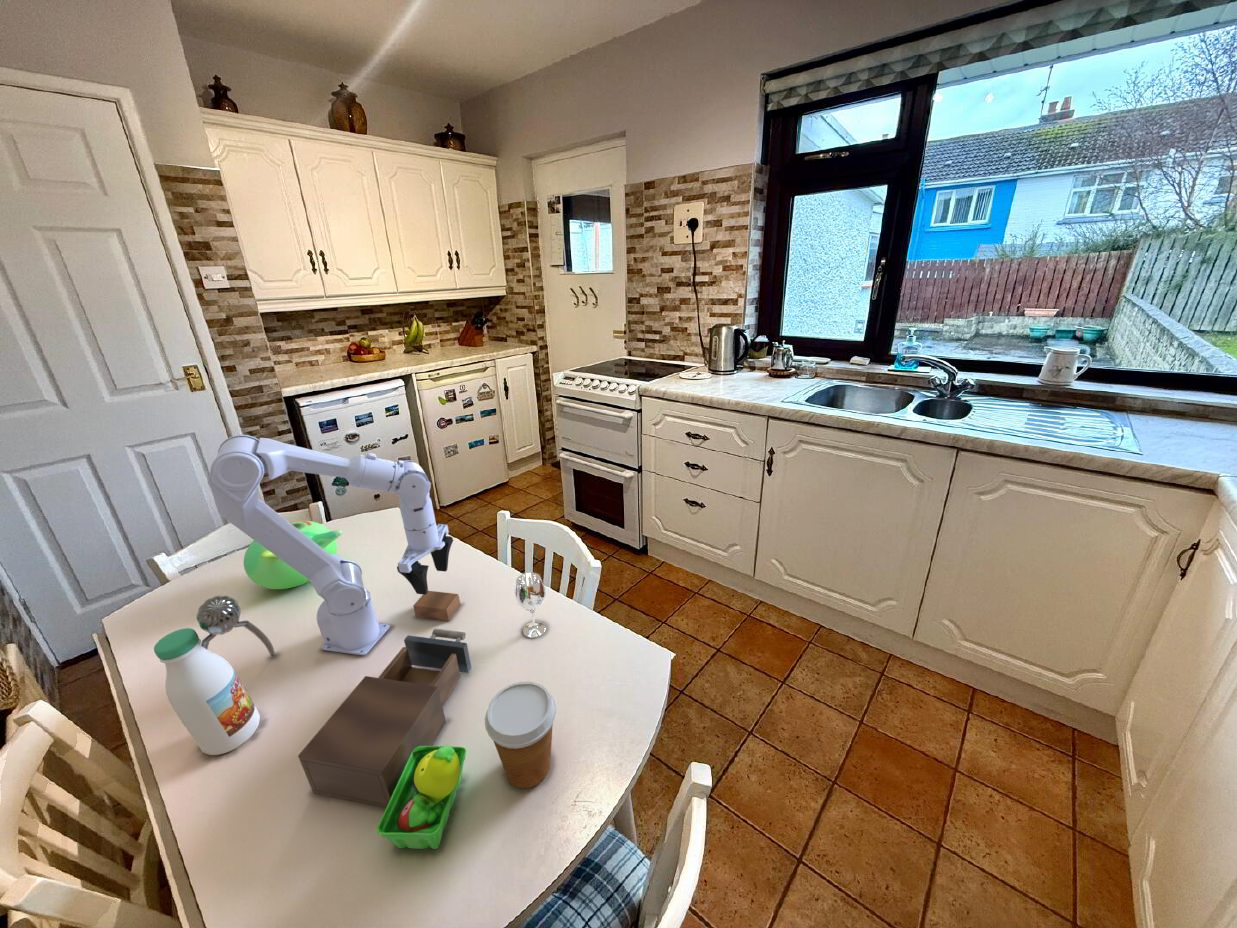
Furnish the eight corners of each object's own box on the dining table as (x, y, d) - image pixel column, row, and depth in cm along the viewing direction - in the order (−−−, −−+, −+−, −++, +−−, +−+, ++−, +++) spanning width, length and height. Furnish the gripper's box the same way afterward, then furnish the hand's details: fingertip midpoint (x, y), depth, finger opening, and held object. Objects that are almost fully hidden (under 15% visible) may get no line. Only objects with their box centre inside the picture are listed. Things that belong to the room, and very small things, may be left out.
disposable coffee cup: (502, 812, 64) (490, 750, 59) (489, 751, 72) (478, 692, 68) (570, 783, 68) (564, 721, 63) (551, 727, 76) (544, 669, 71)
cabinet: (376, 710, 79) (365, 675, 76) (446, 721, 77) (438, 686, 74) (313, 793, 67) (297, 755, 64) (394, 809, 65) (382, 771, 62)
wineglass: (543, 641, 93) (537, 590, 88) (515, 638, 94) (507, 587, 89) (552, 621, 98) (547, 572, 93) (526, 618, 99) (519, 569, 94)
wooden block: (415, 617, 100) (413, 605, 99) (428, 601, 105) (426, 590, 104) (448, 621, 99) (446, 609, 98) (460, 605, 103) (458, 593, 102)
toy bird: (324, 550, 125) (308, 500, 119) (358, 572, 115) (343, 518, 110) (243, 587, 111) (221, 531, 106) (274, 614, 102) (252, 556, 96)
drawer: (426, 643, 92) (420, 619, 90) (482, 650, 90) (477, 625, 88) (368, 718, 77) (360, 692, 75) (434, 729, 75) (427, 702, 73)
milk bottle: (214, 766, 71) (149, 669, 62) (193, 742, 75) (128, 647, 66) (270, 724, 77) (217, 630, 68) (248, 703, 81) (195, 612, 72)
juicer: (275, 655, 91) (273, 607, 70) (201, 692, 84) (174, 651, 63) (253, 610, 93) (245, 551, 72) (179, 643, 86) (145, 587, 64)
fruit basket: (420, 769, 70) (405, 713, 66) (481, 770, 70) (469, 713, 65) (383, 859, 59) (361, 800, 55) (454, 860, 59) (438, 801, 55)
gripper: (417, 545, 86) (431, 606, 92) (457, 507, 99) (467, 562, 105) (382, 542, 88) (397, 602, 93) (426, 504, 101) (437, 559, 106)
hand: (432, 581), depth 99 cm, fingers open, 7 cm apart
